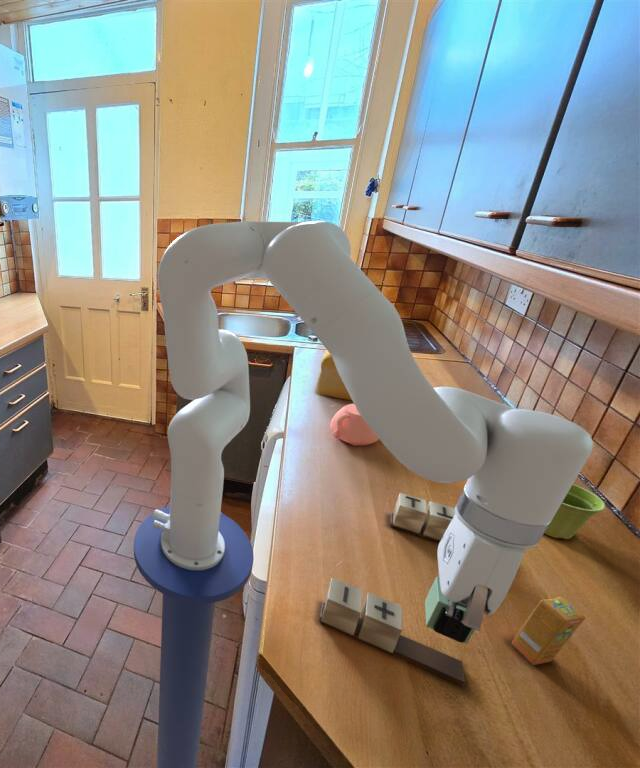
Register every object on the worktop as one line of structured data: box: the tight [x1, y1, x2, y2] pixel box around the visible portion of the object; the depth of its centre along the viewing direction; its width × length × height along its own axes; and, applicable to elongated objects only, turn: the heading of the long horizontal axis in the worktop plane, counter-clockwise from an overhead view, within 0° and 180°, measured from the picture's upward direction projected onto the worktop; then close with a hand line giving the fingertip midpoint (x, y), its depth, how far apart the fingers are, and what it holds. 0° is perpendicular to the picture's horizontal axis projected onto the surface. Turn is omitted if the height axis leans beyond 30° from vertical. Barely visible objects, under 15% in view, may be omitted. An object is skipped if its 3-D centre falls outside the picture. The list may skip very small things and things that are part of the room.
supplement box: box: [511, 596, 586, 666], centre depth 56 cm, size 3×3×10 cm
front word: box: [318, 577, 466, 687], centre depth 59 cm, size 18×4×6 cm, turn 58°
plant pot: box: [543, 483, 606, 540], centre depth 78 cm, size 9×9×9 cm
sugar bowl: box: [329, 403, 380, 447], centre depth 109 cm, size 12×14×10 cm
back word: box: [389, 492, 455, 543], centre depth 77 cm, size 18×4×6 cm, turn 58°
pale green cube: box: [424, 576, 476, 644], centre depth 53 cm, size 4×4×5 cm
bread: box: [316, 348, 352, 401], centre depth 140 cm, size 24×13×15 cm, turn 150°
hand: (446, 618), depth 54 cm, fingers closed on pale green cube, 4 cm apart
